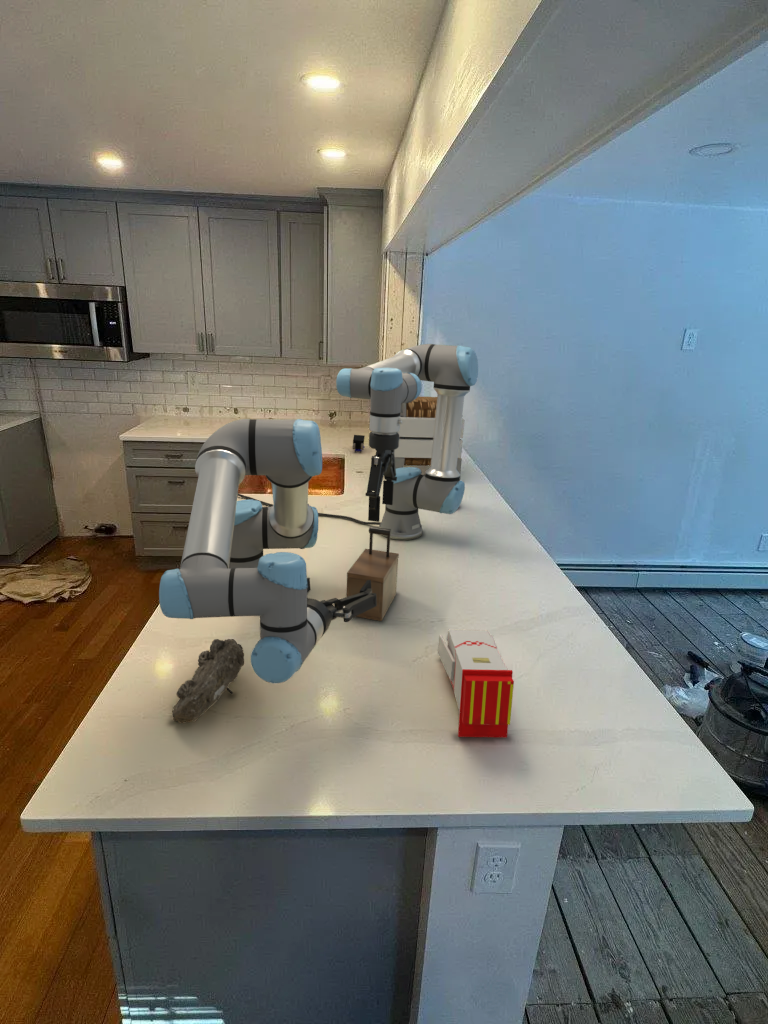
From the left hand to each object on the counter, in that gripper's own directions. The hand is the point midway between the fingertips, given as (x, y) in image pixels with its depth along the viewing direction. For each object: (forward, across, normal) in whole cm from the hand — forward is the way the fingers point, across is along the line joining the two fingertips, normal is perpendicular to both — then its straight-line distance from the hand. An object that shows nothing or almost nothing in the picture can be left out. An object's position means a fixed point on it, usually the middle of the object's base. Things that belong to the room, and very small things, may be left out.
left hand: (338, 585), depth 122 cm
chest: (+28, 0, -15) cm, 32 cm away
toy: (-2, +28, -22) cm, 35 cm away
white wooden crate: (+159, -6, 0) cm, 159 cm away
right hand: (+31, +3, +9) cm, 32 cm away
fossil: (-16, -23, -18) cm, 33 cm away
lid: (+27, +1, -5) cm, 28 cm away
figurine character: (+192, -45, +8) cm, 197 cm away
